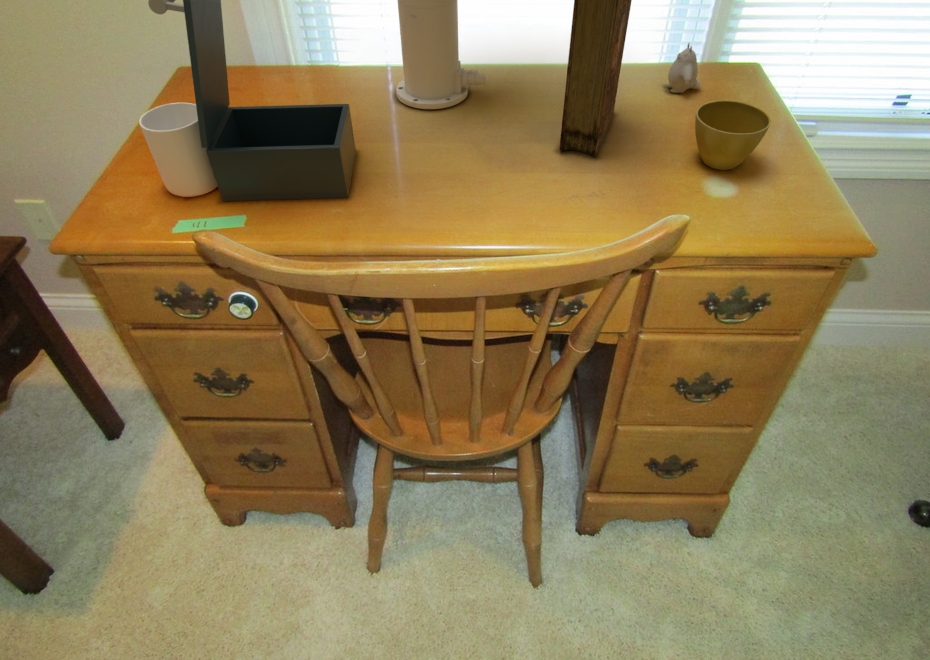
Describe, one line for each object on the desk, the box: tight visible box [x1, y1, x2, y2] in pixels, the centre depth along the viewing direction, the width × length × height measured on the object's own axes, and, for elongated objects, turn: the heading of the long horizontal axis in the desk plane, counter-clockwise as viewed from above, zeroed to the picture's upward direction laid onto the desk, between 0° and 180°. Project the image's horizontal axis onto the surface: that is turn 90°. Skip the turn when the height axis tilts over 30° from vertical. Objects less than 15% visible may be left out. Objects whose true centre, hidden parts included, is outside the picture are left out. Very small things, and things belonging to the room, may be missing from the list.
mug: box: [138, 101, 218, 198], centre depth 90 cm, size 12×8×10 cm
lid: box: [148, 0, 231, 148], centre depth 80 cm, size 18×13×6 cm
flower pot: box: [694, 99, 772, 171], centre depth 92 cm, size 10×10×7 cm
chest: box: [206, 103, 357, 202], centre depth 90 cm, size 18×13×8 cm
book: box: [559, 0, 632, 157], centre depth 92 cm, size 16×6×25 cm, turn 160°
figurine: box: [666, 42, 701, 94], centre depth 108 cm, size 8×6×8 cm
